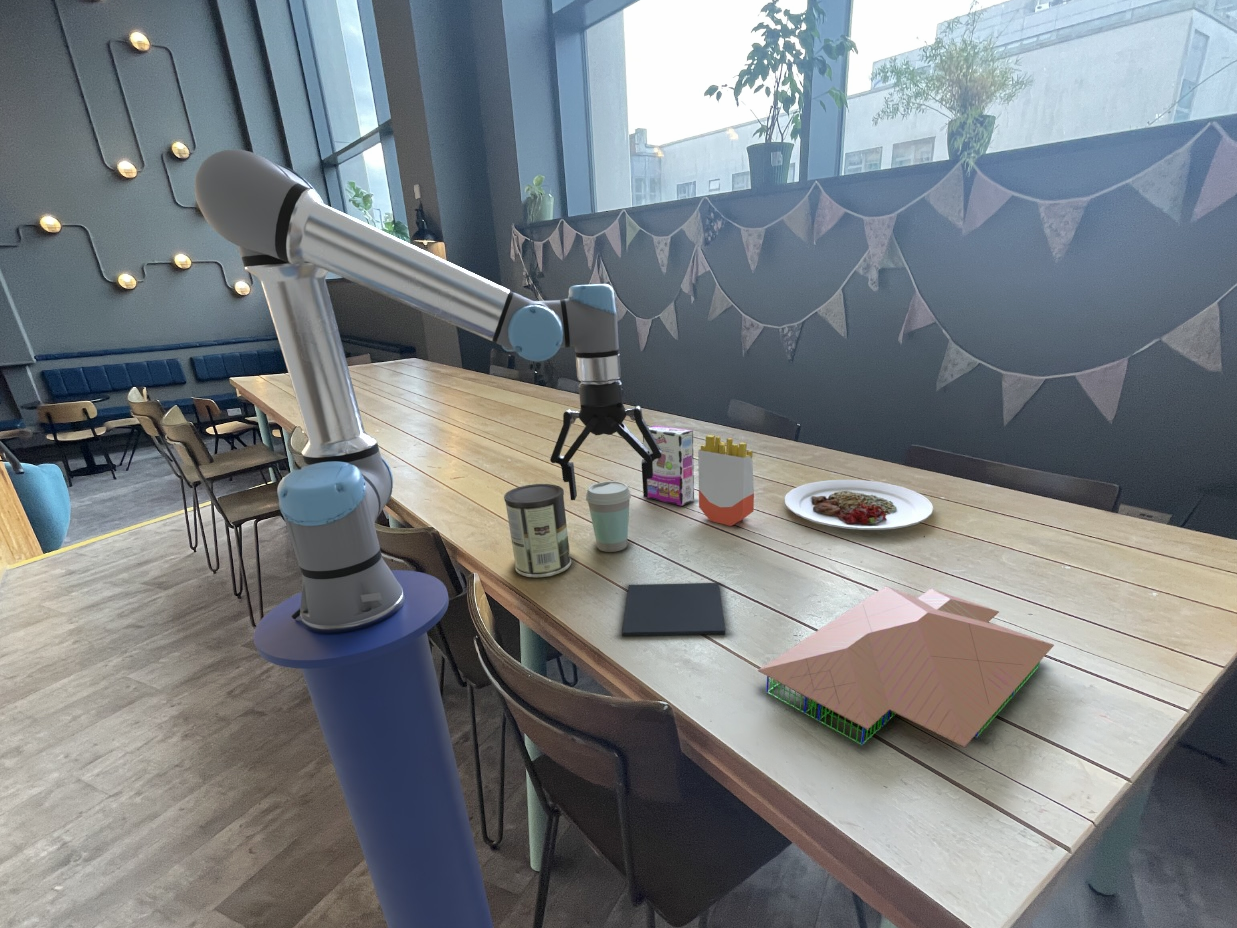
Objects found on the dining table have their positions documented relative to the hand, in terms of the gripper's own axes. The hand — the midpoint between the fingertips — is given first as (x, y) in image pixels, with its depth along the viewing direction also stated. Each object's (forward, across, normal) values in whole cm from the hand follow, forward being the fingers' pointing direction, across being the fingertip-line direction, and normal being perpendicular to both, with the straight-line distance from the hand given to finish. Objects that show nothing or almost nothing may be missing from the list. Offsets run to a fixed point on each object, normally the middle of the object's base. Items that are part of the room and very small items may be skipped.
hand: (609, 496), depth 115 cm
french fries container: (+11, -23, -12) cm, 28 cm away
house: (+11, -42, +43) cm, 61 cm away
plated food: (+11, -51, -16) cm, 54 cm away
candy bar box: (+10, -11, -26) cm, 30 cm away
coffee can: (+10, +12, +8) cm, 18 cm away
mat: (+10, -12, +25) cm, 29 cm away
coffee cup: (+10, 0, 0) cm, 10 cm away
